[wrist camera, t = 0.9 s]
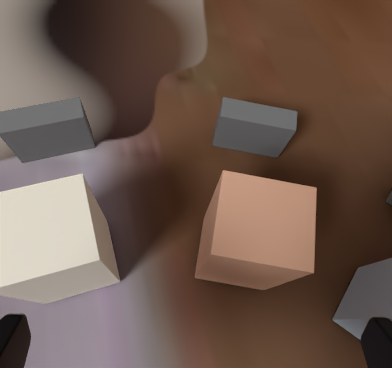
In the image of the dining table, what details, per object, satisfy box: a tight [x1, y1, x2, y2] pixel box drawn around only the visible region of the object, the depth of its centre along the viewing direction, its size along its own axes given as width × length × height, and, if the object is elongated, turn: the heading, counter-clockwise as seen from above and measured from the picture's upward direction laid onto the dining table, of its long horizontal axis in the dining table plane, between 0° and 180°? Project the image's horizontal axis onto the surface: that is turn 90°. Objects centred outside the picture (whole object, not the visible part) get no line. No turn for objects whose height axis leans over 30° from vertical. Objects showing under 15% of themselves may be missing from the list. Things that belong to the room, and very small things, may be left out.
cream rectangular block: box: [0, 174, 120, 304], centre depth 18 cm, size 4×4×8 cm
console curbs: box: [0, 97, 392, 206], centre depth 24 cm, size 32×6×4 cm, turn 81°
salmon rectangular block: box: [194, 170, 317, 290], centre depth 19 cm, size 4×4×8 cm
